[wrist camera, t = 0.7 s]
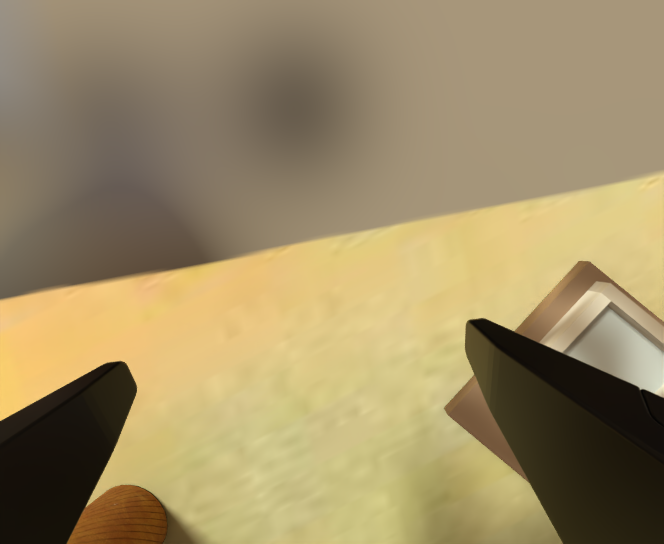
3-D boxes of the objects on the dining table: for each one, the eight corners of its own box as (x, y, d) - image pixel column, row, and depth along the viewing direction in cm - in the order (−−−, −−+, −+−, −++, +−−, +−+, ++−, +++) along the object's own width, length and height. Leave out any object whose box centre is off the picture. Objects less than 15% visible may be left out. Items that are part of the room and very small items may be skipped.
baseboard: (668, 594, 23) (700, 630, 21) (444, 408, 24) (452, 424, 22) (819, 457, 22) (870, 480, 20) (579, 261, 22) (603, 262, 20)
